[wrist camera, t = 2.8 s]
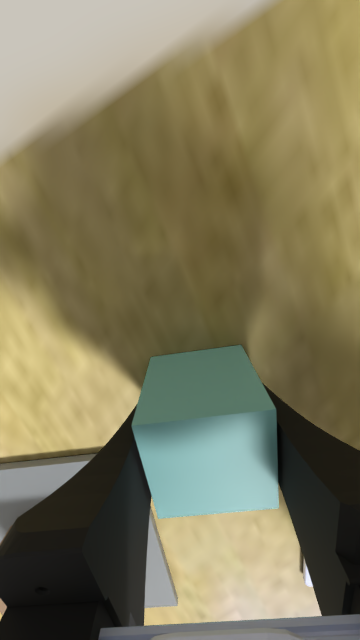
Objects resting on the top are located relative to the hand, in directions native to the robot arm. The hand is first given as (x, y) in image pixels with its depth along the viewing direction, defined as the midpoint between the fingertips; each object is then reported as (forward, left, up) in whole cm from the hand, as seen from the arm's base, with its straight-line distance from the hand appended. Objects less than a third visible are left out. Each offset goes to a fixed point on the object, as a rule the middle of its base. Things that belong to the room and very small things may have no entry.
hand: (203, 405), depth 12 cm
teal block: (0, 0, -1) cm, 1 cm away
